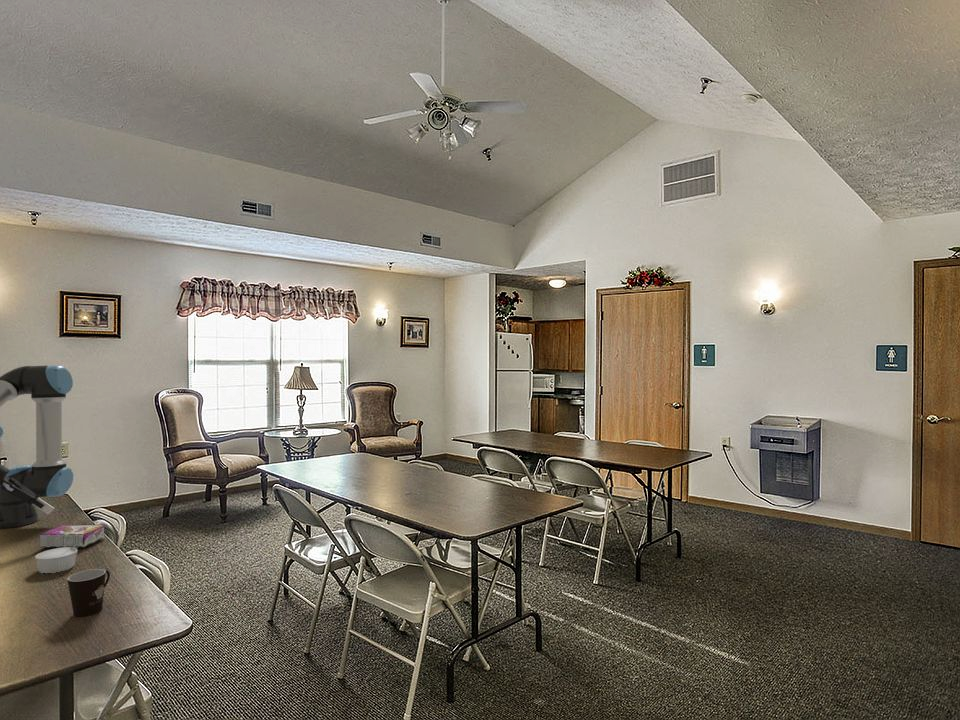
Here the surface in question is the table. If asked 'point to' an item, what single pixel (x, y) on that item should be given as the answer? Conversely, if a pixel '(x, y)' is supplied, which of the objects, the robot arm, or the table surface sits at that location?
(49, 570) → the ramekin
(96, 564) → the table surface
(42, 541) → the candy bar box
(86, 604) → the coffee mug
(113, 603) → the table surface
